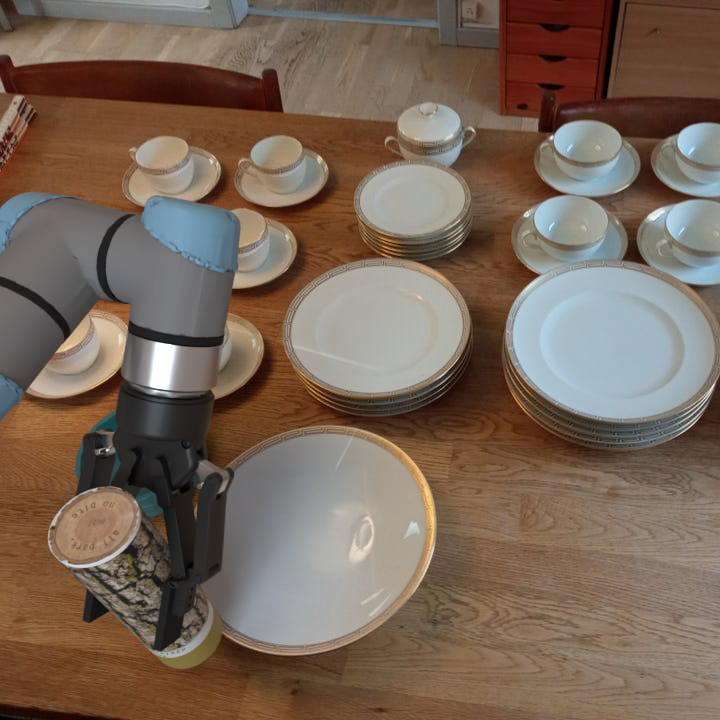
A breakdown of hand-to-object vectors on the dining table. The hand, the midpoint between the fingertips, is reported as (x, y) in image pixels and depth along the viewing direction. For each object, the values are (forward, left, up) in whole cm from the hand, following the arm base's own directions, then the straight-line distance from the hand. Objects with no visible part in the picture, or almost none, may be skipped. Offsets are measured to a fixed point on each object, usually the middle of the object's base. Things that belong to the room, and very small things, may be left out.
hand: (131, 628), depth 66 cm
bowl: (-18, +20, -14) cm, 30 cm away
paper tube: (0, +3, -12) cm, 12 cm away
